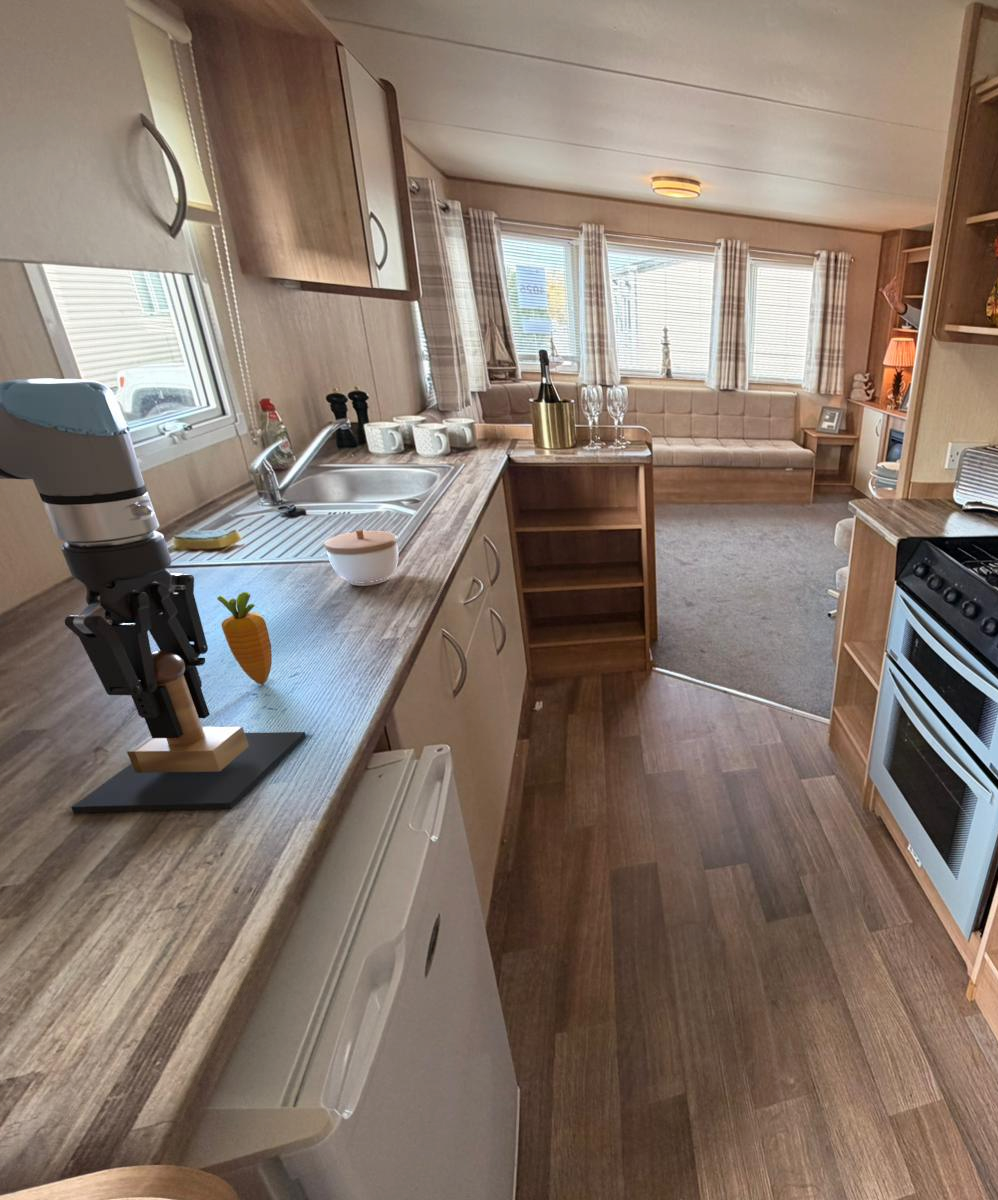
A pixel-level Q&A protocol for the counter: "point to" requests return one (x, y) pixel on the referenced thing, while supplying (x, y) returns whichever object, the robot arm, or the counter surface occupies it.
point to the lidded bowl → (363, 556)
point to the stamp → (185, 731)
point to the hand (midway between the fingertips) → (181, 725)
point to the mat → (193, 781)
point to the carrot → (248, 638)
